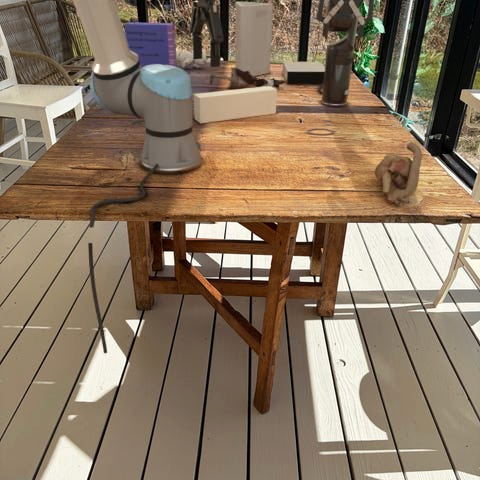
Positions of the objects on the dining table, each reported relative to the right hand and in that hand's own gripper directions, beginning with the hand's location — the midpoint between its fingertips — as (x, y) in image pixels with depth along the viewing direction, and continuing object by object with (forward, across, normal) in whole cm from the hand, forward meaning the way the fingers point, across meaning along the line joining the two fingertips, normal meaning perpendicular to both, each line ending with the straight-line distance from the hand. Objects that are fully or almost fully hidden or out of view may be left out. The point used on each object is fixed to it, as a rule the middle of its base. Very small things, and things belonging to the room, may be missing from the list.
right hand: (341, 39), depth 128 cm
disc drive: (+27, +14, -76) cm, 82 cm away
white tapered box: (+27, +38, -83) cm, 95 cm away
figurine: (+27, +35, -53) cm, 69 cm away
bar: (+27, +32, -14) cm, 44 cm away
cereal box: (+27, +70, -41) cm, 86 cm away
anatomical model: (+27, -15, +36) cm, 47 cm away
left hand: (+10, +40, -8) cm, 42 cm away
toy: (+27, +70, -85) cm, 114 cm away
